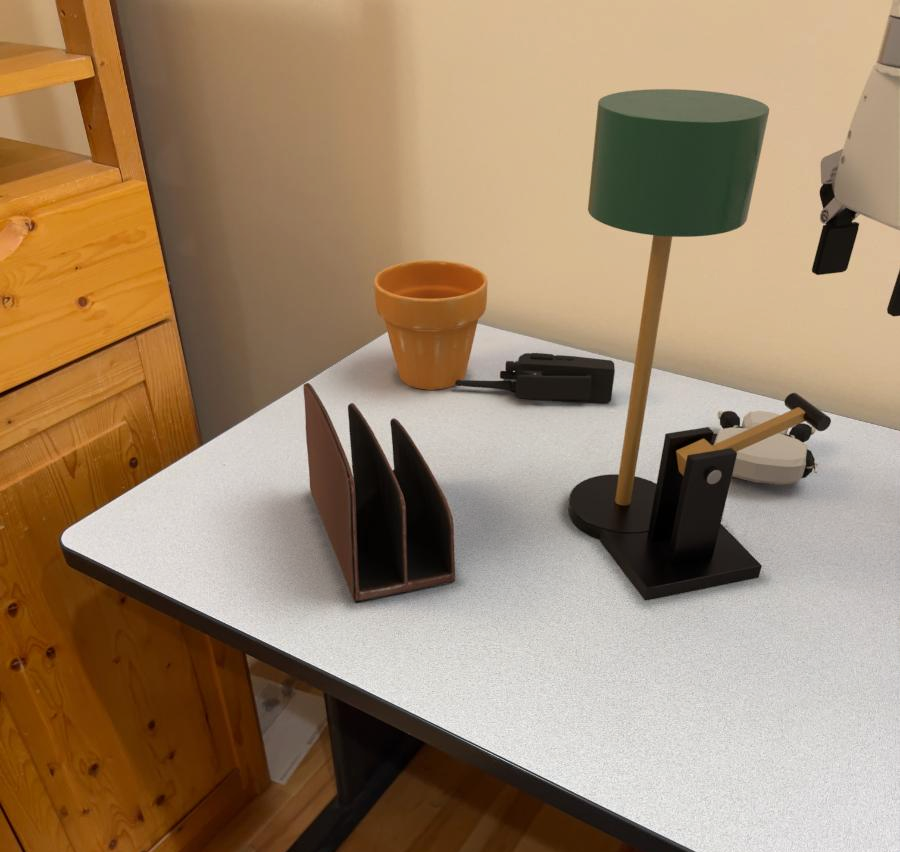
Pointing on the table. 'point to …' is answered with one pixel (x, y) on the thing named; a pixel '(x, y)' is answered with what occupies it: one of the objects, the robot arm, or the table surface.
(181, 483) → the table surface
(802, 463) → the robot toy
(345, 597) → the table surface
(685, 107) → the desk lamp
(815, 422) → the switch lever
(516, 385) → the walkie-talkie
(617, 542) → the black pivot bracket
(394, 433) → the letter holder
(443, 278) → the flower pot
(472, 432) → the table surface
